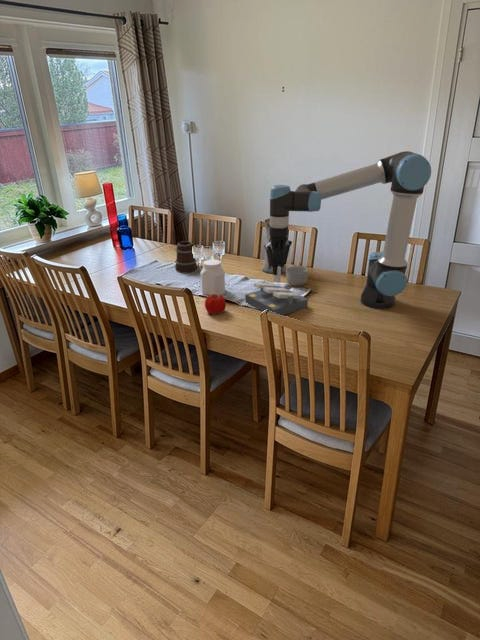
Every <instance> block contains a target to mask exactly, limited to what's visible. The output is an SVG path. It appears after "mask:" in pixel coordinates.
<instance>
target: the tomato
mask: <svg viewBox="0 0 480 640" xmlns="http://www.w3.org/2000/svg"><path fill="white" fill-rule="evenodd" d="M226 306H227V301H226V299H225V297H224V295H223V294H222V295H219V296H217V295H216V294H212V295H208V296H207V297H206V298H205V300H204V309H205V310H206V312H208V313H209V314H210V315H211V314H212V315H216V314H221V313H224V312H225V310H226Z"/></svg>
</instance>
